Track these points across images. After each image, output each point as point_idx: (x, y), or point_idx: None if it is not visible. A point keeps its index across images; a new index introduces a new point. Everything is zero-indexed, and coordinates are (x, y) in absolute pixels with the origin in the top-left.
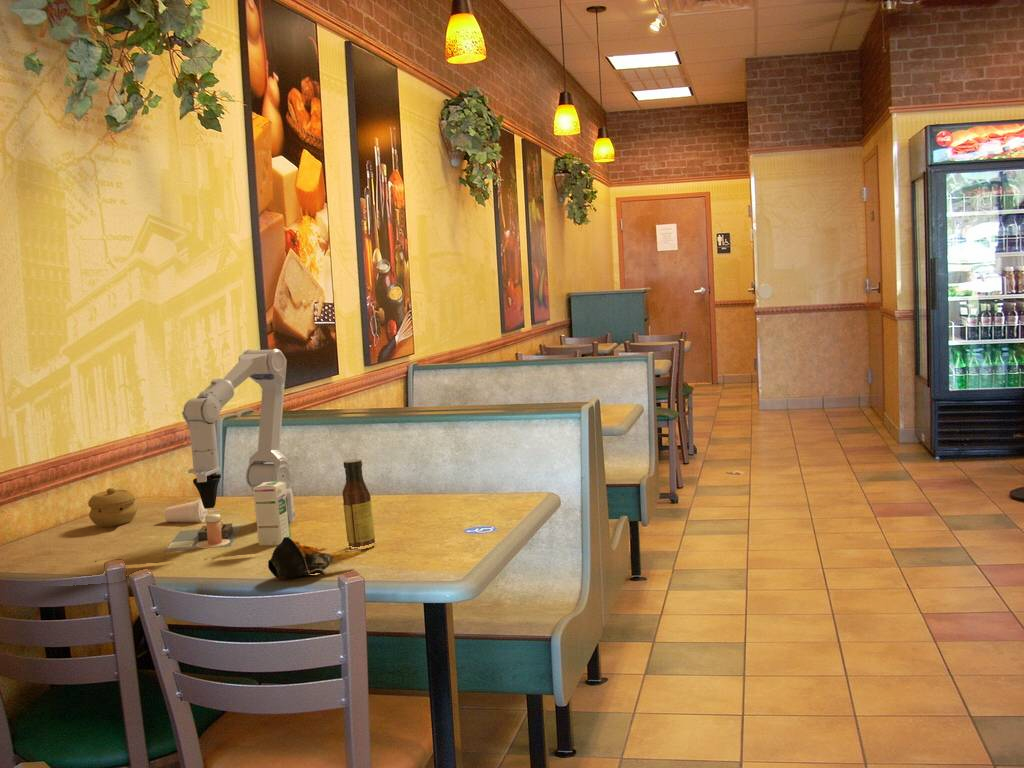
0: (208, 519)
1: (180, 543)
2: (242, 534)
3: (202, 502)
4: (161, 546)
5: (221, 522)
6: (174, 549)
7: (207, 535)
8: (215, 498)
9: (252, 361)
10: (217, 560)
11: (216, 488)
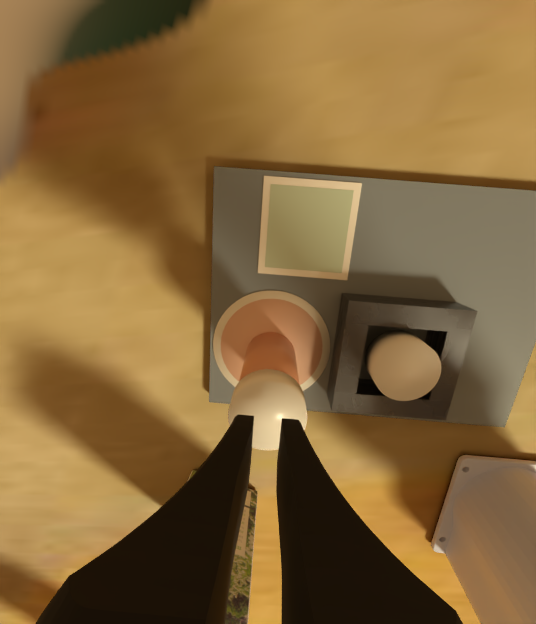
0: (233, 393)
1: (323, 225)
2: (410, 421)
3: (224, 435)
4: (382, 135)
5: (417, 396)
6: (236, 210)
7: (261, 345)
8: (279, 515)
9: None
10: (86, 365)
11: (282, 614)
